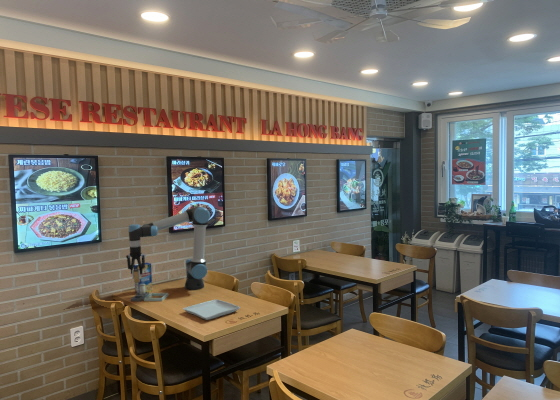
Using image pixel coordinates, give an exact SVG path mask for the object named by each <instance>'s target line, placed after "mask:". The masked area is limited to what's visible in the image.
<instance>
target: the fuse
mask: <svg viewBox="0 0 560 400" xmlns="http://www.w3.org/2000/svg"><path fill="white" fill-rule="evenodd" d="M139 290H140V295H145V284H144V283H142V284H139Z"/></svg>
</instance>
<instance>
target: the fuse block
mask: <svg viewBox="0 0 560 400" xmlns="http://www.w3.org/2000/svg"><path fill="white" fill-rule="evenodd" d="M149 294H150V292H145V295H140V292H139V293H138V294H137V293H136V294H134V296H132V297H130V302H142V301H144V298H145V297H146V296H148V295H149Z"/></svg>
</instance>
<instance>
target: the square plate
mask: <svg viewBox="0 0 560 400" xmlns="http://www.w3.org/2000/svg"><path fill="white" fill-rule="evenodd" d="M240 308H241V306H239V305H237V304H233V303H231V302H227V301H224V300H220V299H217V298H216V299H213V300H208V301H203V302H201V303H196V304H193V305H189V306H186V307H182V309H183V310H184V311H185V312H186V313H188V314H191V315H194V316H196V317H199V318H201V319H203V320H206V321H208V320H212V319H217V318H220V317H223V316H225V315H228V314H231V313H235V312H236V311H238V310H240Z"/></svg>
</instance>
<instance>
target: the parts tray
mask: <svg viewBox="0 0 560 400" xmlns="http://www.w3.org/2000/svg"><path fill="white" fill-rule="evenodd" d="M168 297H169V292H151V293H150V292H149V295H148V296H146V297H145V298H144V299H143V302H163V301H164V300H165V299H166V298H168Z"/></svg>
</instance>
